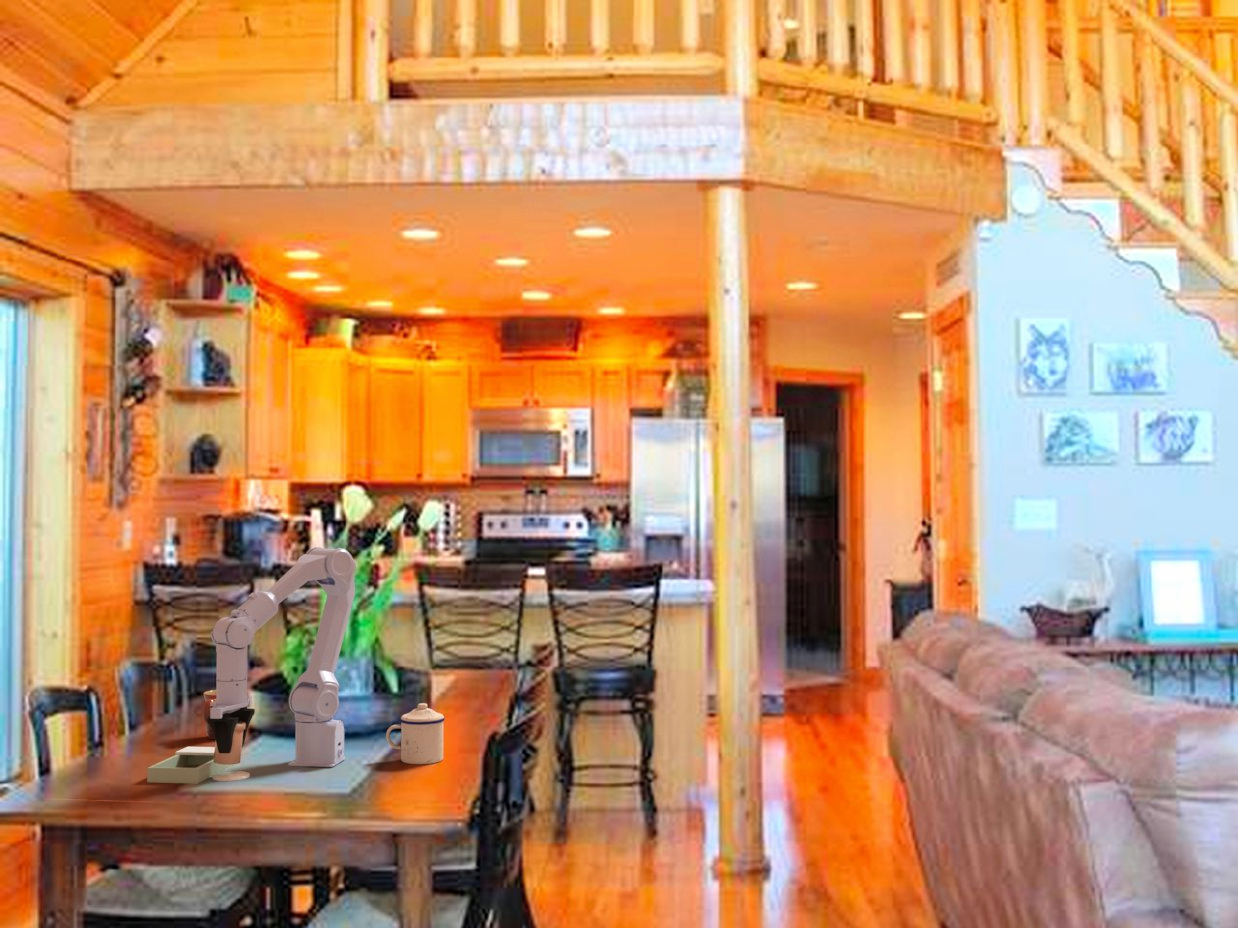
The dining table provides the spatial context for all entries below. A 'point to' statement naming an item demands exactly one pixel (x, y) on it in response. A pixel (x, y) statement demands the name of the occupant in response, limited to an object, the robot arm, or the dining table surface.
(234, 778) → the saucer
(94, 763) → the dining table surface
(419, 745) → the teacup with lid
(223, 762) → the pot
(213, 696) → the mug
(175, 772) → the box with sliding lid
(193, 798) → the dining table surface
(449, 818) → the dining table surface
